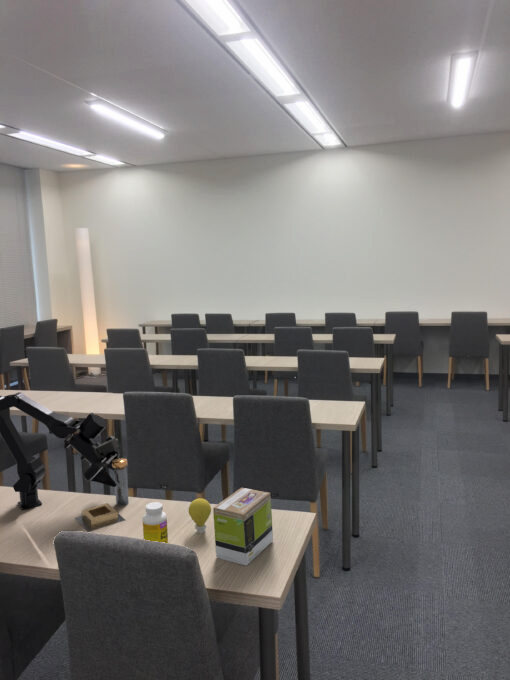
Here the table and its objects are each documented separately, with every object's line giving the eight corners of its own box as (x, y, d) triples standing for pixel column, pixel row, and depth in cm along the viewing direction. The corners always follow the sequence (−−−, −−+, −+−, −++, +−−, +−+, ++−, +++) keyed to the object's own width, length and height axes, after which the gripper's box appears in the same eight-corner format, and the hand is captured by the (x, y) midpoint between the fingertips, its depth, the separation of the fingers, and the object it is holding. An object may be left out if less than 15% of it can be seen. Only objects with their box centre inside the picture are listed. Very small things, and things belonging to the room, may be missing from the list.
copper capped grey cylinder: (112, 507, 182) (108, 462, 180) (123, 501, 186) (120, 457, 184) (122, 510, 179) (119, 464, 177) (133, 504, 183) (130, 459, 181)
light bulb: (202, 523, 168) (201, 492, 167) (216, 530, 163) (215, 498, 162) (185, 531, 163) (183, 499, 162) (199, 539, 159) (197, 506, 157)
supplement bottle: (163, 556, 150) (160, 511, 148) (140, 554, 151) (137, 510, 149) (171, 544, 156) (169, 501, 154) (149, 542, 158) (147, 499, 156)
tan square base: (74, 520, 173) (73, 510, 173) (111, 509, 180) (110, 499, 180) (88, 534, 163) (87, 524, 163) (126, 522, 170) (125, 512, 170)
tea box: (243, 534, 161) (241, 485, 159) (273, 541, 156) (272, 492, 154) (214, 558, 148) (212, 506, 146) (246, 567, 143) (244, 513, 141)
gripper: (90, 440, 170) (126, 474, 171) (112, 423, 189) (145, 454, 189) (68, 464, 172) (104, 498, 173) (92, 444, 191) (124, 475, 191)
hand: (120, 480), depth 181 cm, fingers open, 9 cm apart
